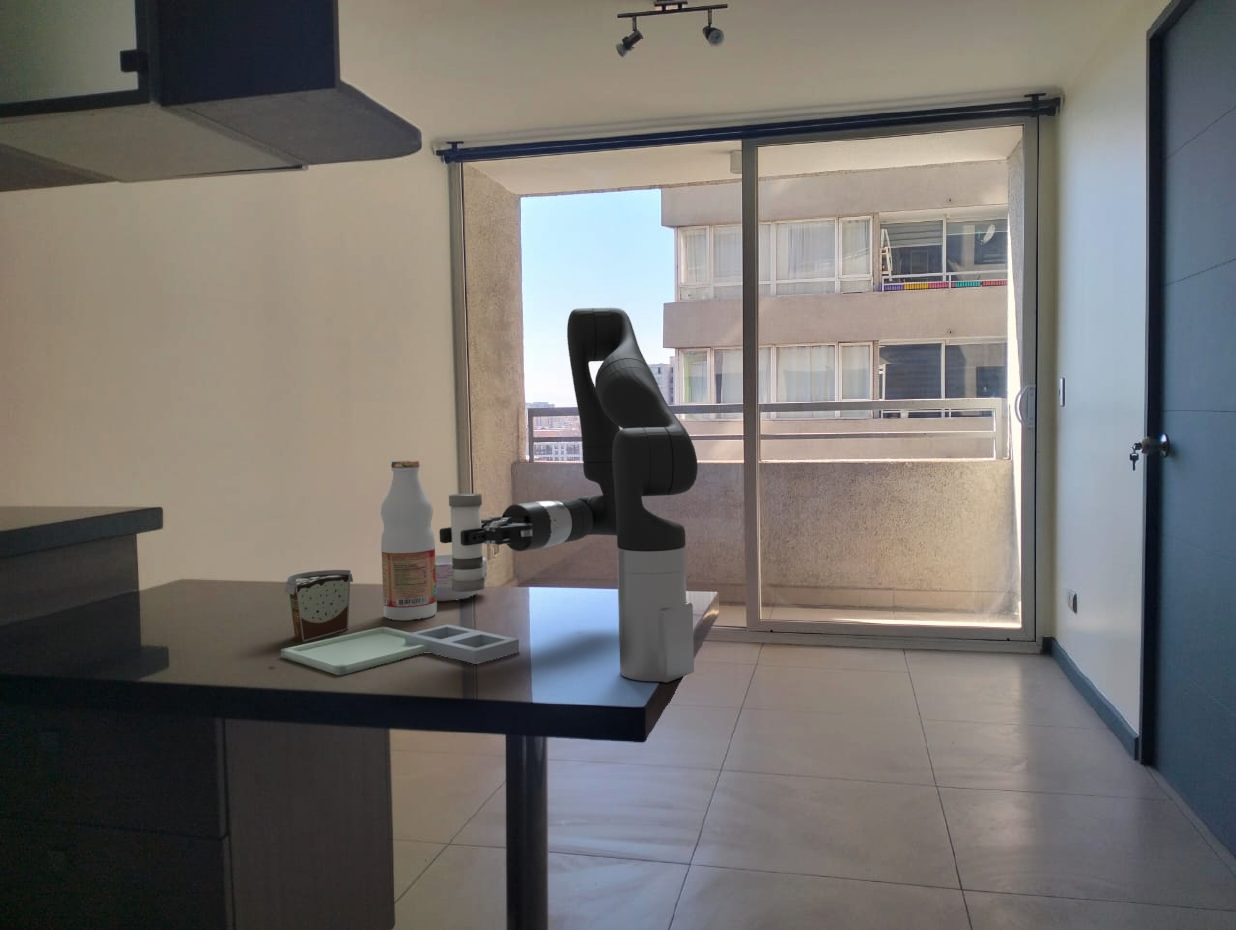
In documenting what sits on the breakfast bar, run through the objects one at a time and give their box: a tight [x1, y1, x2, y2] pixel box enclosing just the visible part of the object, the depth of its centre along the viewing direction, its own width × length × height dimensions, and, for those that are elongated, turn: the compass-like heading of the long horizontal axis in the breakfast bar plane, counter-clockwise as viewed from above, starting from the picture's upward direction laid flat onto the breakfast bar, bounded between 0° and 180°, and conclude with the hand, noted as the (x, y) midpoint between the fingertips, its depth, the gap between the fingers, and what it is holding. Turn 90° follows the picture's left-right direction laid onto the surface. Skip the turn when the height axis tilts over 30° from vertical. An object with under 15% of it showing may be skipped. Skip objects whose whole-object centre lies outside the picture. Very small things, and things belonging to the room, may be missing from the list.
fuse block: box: [405, 623, 520, 664], centre depth 134 cm, size 17×8×2 cm, turn 49°
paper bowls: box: [435, 553, 488, 602], centre depth 175 cm, size 15×15×8 cm
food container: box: [284, 569, 354, 643], centre depth 146 cm, size 12×6×10 cm, turn 149°
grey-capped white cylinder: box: [448, 493, 486, 592], centre depth 131 cm, size 5×5×14 cm
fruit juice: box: [380, 460, 438, 621], centre depth 158 cm, size 9×9×28 cm
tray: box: [280, 626, 427, 676], centre depth 133 cm, size 16×18×1 cm
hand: (452, 537), depth 128 cm, fingers closed on grey-capped white cylinder, 4 cm apart
